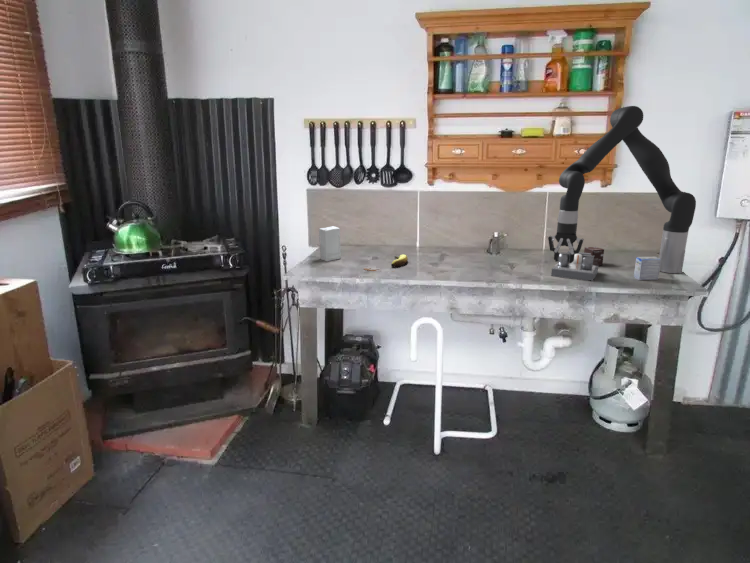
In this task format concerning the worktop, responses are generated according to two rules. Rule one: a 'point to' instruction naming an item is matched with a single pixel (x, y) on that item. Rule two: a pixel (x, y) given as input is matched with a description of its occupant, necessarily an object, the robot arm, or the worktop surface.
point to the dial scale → (575, 269)
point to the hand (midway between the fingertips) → (563, 261)
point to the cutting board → (396, 262)
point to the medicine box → (647, 268)
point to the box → (595, 254)
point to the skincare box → (329, 243)
